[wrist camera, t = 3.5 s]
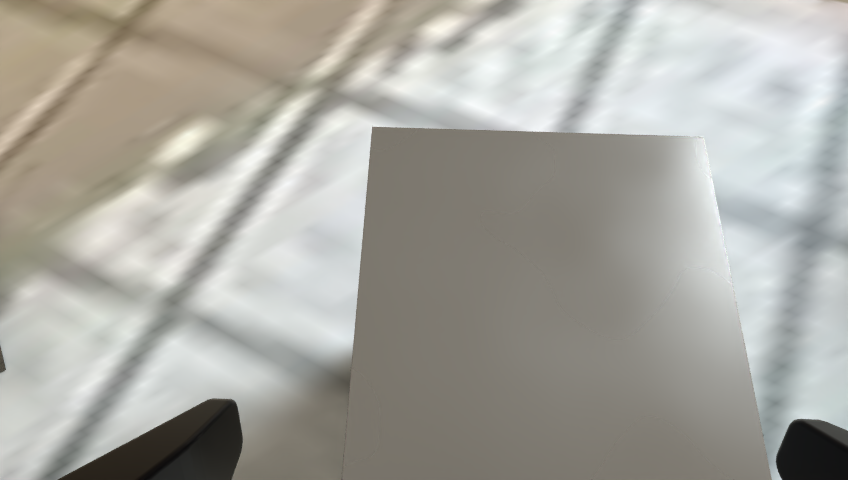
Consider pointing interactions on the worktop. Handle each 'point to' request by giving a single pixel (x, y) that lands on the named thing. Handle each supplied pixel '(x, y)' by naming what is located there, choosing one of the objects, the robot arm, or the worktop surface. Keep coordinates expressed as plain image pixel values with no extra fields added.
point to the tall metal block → (546, 313)
